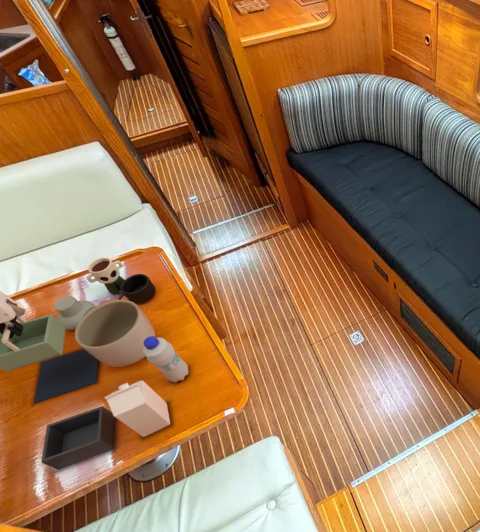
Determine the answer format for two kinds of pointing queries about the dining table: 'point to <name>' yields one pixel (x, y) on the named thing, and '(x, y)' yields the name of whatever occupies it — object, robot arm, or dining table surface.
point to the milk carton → (139, 408)
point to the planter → (114, 333)
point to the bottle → (165, 358)
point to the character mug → (106, 274)
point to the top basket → (32, 342)
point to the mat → (66, 374)
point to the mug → (138, 289)
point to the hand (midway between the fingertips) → (16, 332)
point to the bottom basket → (78, 438)
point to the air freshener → (72, 311)
